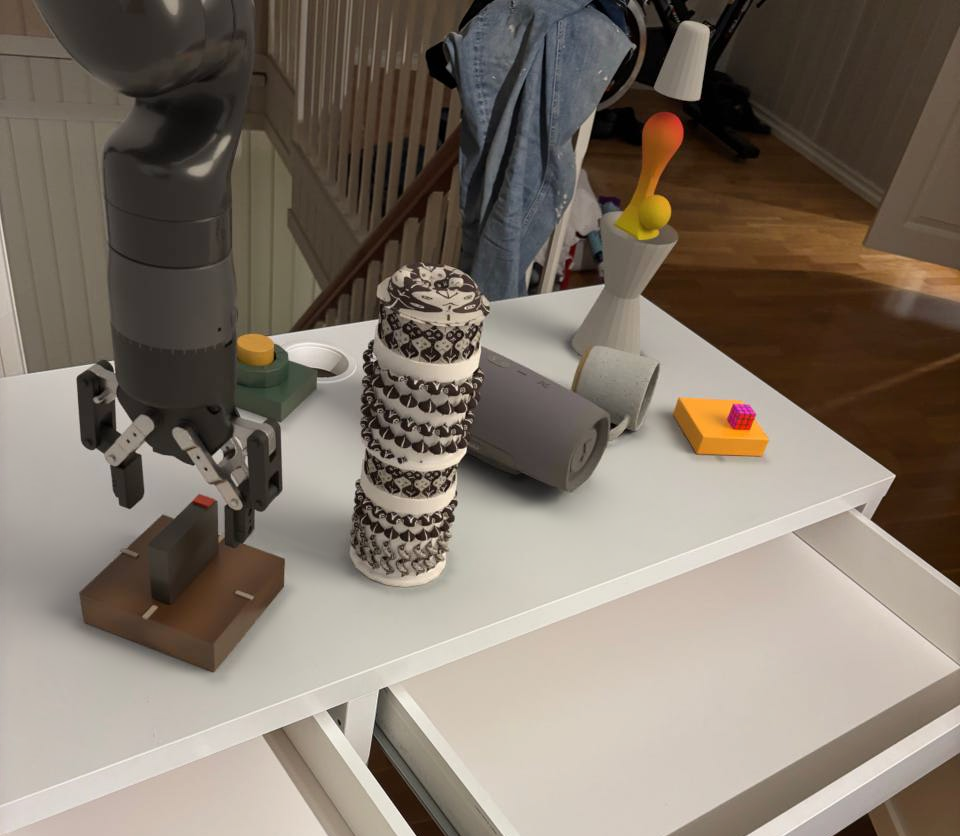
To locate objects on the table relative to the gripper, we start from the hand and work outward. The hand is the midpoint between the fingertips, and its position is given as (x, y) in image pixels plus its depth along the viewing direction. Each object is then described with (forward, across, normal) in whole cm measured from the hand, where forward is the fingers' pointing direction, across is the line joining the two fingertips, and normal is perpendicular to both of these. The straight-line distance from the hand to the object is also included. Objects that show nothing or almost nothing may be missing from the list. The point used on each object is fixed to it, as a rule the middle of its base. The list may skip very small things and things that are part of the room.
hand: (184, 521), depth 71 cm
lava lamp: (+8, +19, +64) cm, 67 cm away
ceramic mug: (+8, +23, +47) cm, 53 cm away
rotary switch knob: (+5, 0, 0) cm, 5 cm away
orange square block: (+8, +35, +52) cm, 63 cm away
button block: (+8, -11, +31) cm, 34 cm away
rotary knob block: (+8, 0, 0) cm, 8 cm away
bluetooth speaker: (+8, +13, +34) cm, 37 cm away
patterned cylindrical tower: (+8, +12, +14) cm, 20 cm away
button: (+5, -11, +31) cm, 33 cm away
